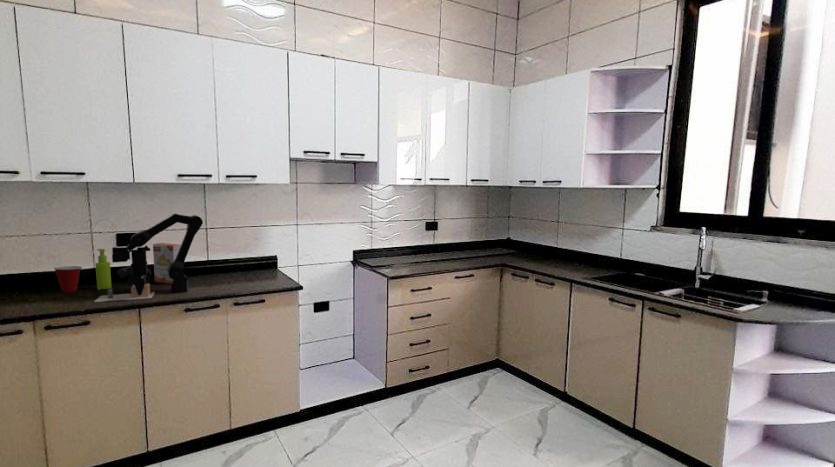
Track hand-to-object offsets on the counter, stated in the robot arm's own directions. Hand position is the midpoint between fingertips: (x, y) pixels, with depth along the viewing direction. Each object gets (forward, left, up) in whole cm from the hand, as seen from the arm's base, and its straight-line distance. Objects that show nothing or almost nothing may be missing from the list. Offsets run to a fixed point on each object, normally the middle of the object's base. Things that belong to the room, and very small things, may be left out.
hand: (141, 293), depth 206 cm
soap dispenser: (+20, -25, -2) cm, 32 cm away
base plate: (+6, 0, -2) cm, 6 cm away
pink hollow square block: (0, 0, -1) cm, 1 cm away
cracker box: (-8, -30, -2) cm, 31 cm away
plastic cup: (+34, -25, -2) cm, 42 cm away
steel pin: (+12, 0, -2) cm, 12 cm away
